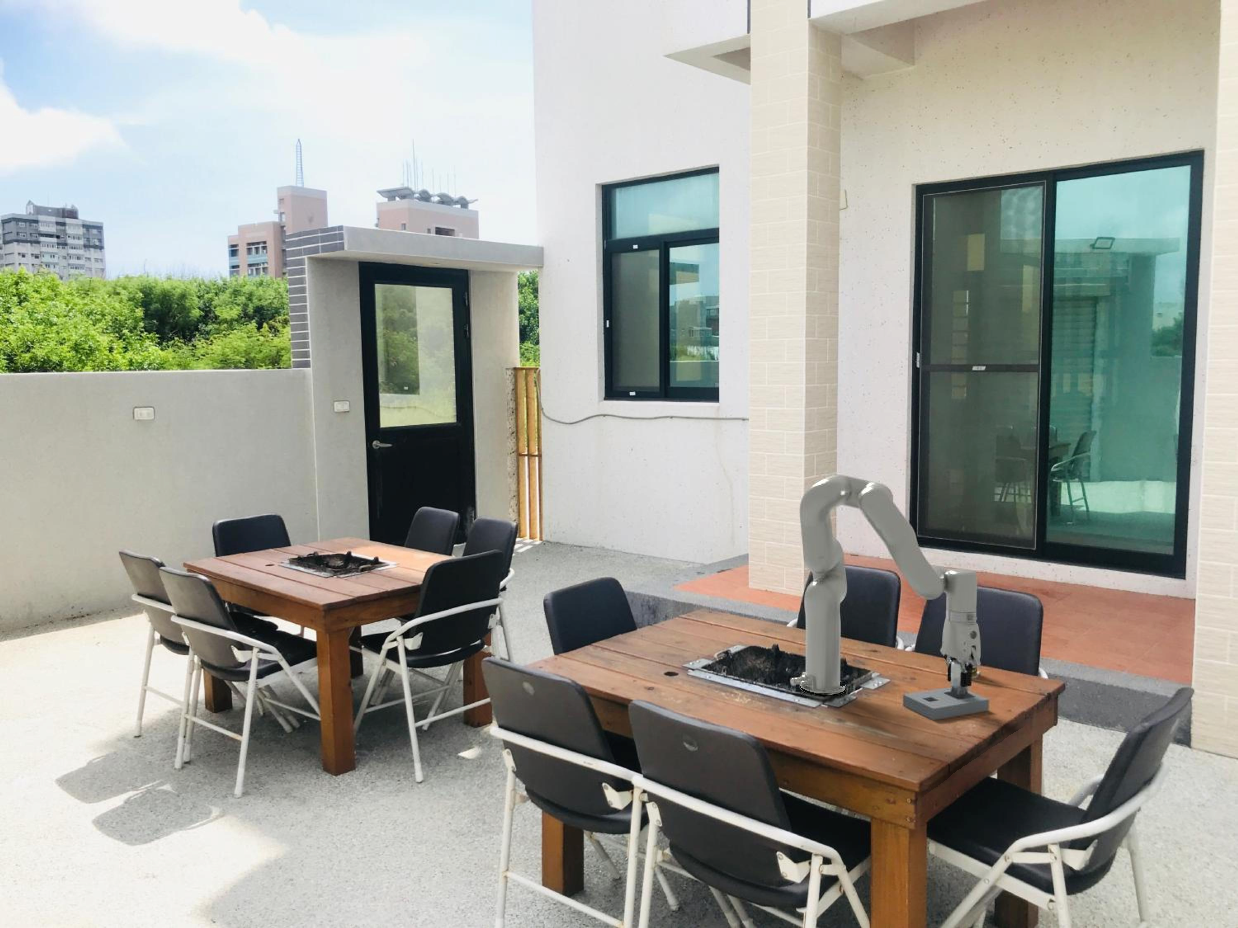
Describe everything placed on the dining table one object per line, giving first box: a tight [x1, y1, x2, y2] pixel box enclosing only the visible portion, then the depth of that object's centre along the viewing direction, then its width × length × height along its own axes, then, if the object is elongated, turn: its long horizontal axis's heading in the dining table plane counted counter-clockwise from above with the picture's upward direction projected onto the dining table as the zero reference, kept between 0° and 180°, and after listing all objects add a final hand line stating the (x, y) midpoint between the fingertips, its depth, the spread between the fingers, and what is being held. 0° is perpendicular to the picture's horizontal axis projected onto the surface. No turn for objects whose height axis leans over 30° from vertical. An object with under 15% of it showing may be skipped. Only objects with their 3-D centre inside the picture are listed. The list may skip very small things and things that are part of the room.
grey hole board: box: [902, 686, 990, 721], centre depth 256 cm, size 18×12×3 cm, turn 112°
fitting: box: [950, 660, 969, 694], centre depth 257 cm, size 4×4×8 cm
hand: (959, 682), depth 257 cm, fingers closed on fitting, 4 cm apart
